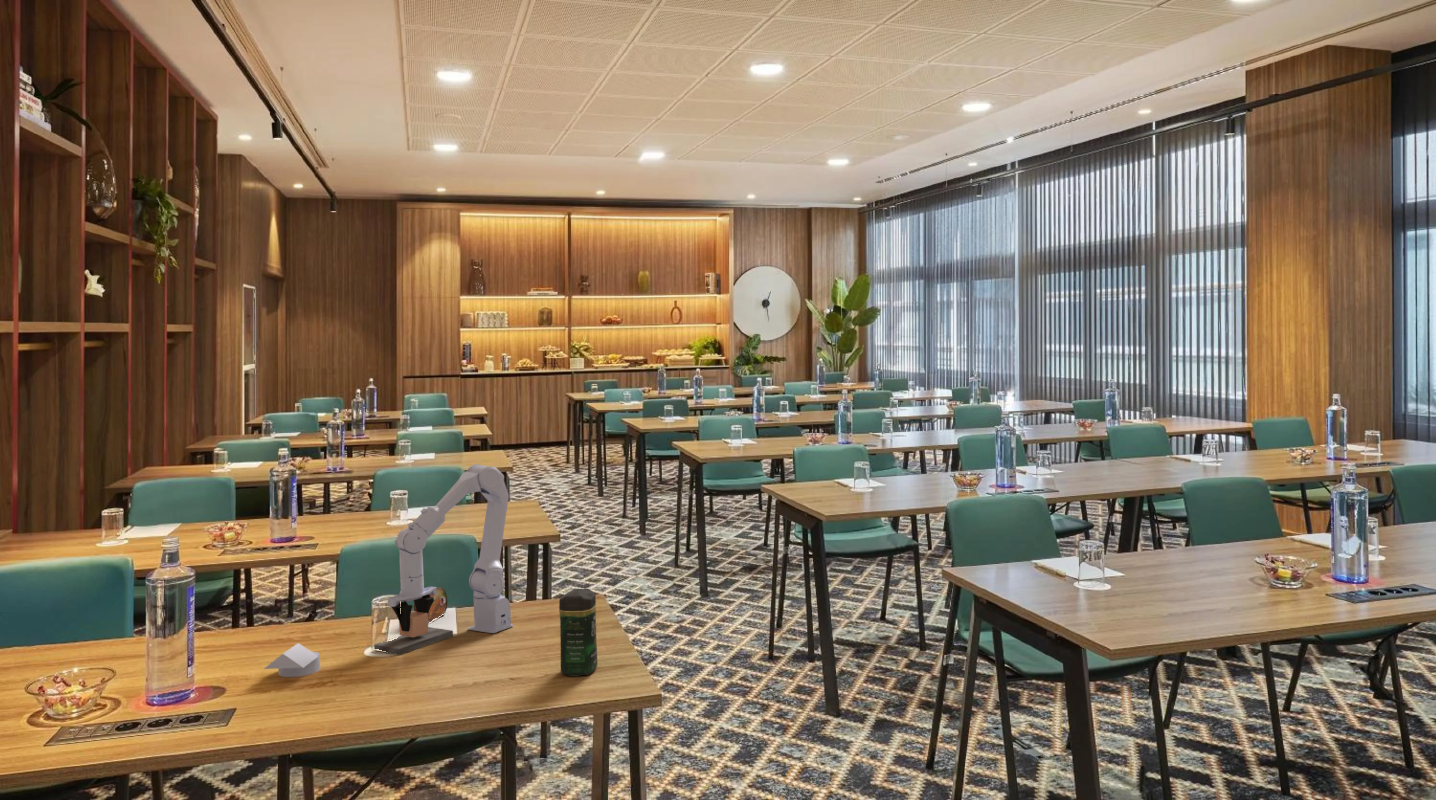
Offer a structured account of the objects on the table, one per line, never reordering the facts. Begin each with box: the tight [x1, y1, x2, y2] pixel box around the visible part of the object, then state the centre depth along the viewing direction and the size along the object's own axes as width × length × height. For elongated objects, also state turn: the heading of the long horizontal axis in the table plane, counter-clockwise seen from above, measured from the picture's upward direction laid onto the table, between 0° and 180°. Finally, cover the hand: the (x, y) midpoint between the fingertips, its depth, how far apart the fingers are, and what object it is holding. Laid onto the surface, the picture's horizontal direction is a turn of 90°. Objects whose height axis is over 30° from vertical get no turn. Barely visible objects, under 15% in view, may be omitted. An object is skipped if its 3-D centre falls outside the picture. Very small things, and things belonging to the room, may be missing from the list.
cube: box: [398, 610, 429, 637], centre depth 249 cm, size 5×5×5 cm
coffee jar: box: [558, 588, 598, 677], centre depth 223 cm, size 10×8×19 cm
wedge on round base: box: [263, 642, 321, 678], centre depth 227 cm, size 9×7×13 cm
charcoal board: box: [373, 626, 454, 656], centre depth 250 cm, size 9×18×2 cm, turn 150°
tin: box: [413, 586, 448, 623], centre depth 273 cm, size 15×3×8 cm, turn 168°
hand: (414, 628), depth 249 cm, fingers closed on cube, 5 cm apart
